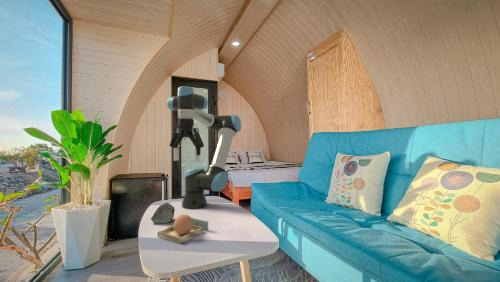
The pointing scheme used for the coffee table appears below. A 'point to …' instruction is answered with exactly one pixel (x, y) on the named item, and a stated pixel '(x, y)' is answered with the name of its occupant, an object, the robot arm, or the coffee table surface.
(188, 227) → the ball
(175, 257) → the coffee table surface
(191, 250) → the coffee table surface
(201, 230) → the tray
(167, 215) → the stone
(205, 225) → the wall
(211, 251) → the coffee table surface
